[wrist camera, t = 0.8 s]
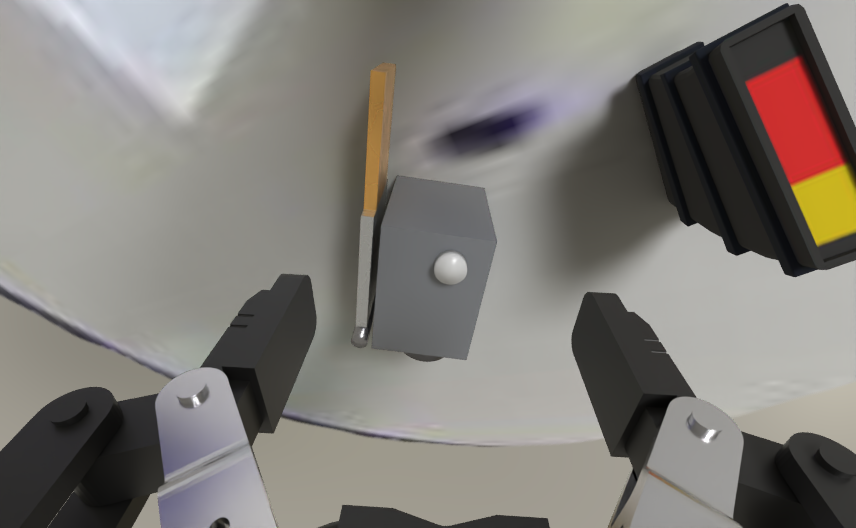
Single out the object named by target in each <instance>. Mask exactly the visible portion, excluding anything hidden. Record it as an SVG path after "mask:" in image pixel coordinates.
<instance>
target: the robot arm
mask: <svg viewBox="0 0 856 528" xmlns="http://www.w3.org/2000/svg"><path fill="white" fill-rule="evenodd" d="M315 330H316V311H315V304H314V298H313V291H312V284H311V279H310V277H309V276H308V275H293V274H281V275H280V276H279V277H278V279H277V281H276V282H275V284H274V285H273V287H272V288H271V290H261V291H260V292H258V293H257V294H256V295H254V296H253V297H251V298H250V299H249V300H247V301H246V303H245V304H244V306H243V307H242V309H241V310H240V311H239V313H238V316H236V317H235V318H234V320H233V321H232V323H231V324H230V327H228V328H227V330H226V331H225V333H224V334H223V336H222V337H221V338H220V340H219V341H218V343H217V344H216V346H215V347H214V348H213V350H212V351H211V353H210V354H209V356H208V357H207V358H206V360H205V361H204V363H203V364H202V366H201V367H200V368H198V369H193V370H190V371H187V372H185V373H183V374H181V375H179V376H177V377H175V378H174V379H172V380H171V381H170V382H169V383H168V384H166V385H165V387H163V388H162V390H161V391H160V393H158V394H154V395H149V396H144V397H139V398H134V399H128V400H123V401H119V402H117V401H116V400H115V398H114V396H113V395H112V393H111V392H110V391H109V390H107V389H105V388H101V387H89V388H83V389H79V390H75V391H72V392H70V393H67V394H65V395H63V396H61V397H59V398H57V399H55V400H53V401H52V402H50V403H49V404H47V405H46V406H45V407H44V408H42V409H41V410H40V411H39V412H38V413H37V414H36V415H35V416H34V417H33V418H32V419H31V420H30V421H29V422H28V423H27V424H26V425H25V426H24V427H23V428H22V429H21V431H20V432H19V433H18V434H17V435H16V436H15V437H14V438H13V439H12V440H11V441H10V442H9V443H8V444H7V445H6V446H5V447H4V448H3V449H2V450H1V451H0V528H47V527H48V528H132V526H133V524H134V523H135V521H136V519H137V517H138V515H139V514H140V512H141V510H142V508H143V507H144V505H145V503H146V501H147V499H148V497H149V496H150V494H152V493H156V492H158V505H159V514H160V522H161V528H279V527H278V523H277V521H276V518H275V515H274V512H273V509H272V506H271V503H270V500H269V497H268V494H267V491H266V488H265V485H264V482H263V479H262V476H261V473H260V470H259V467H258V464H257V461H256V458H255V455H254V452H253V449H252V445H253V443H254V440H255V438H256V436H257V434H258V433H274V431H275V429H276V426H277V424H278V422H279V419H280V417H281V414H282V412H283V410H284V407H285V405H286V402H287V400H288V398H289V395H290V393H291V390H292V388H293V385H294V383H295V381H296V378H297V376H298V373H299V371H300V369H301V366H302V364H303V361H304V359H305V357H306V354H307V352H308V349H309V347H310V345H311V342H312V340H313V337H314V334H315ZM572 351H573V354H574V357H575V360H576V362H577V365H578V368H579V370H580V373H581V376H582V379H583V381H584V384H585V387H586V389H587V392H588V395H589V398H590V400H591V403H592V406H593V408H594V411H595V414H596V417H597V419H598V422H599V425H600V427H601V430H602V433H603V436H604V438H605V441H606V444H607V446H608V449H609V452H610V454H611V456H613V457H629V459H630V462H631V464H632V467H633V468H632V469H631V471H630V473H629V475H628V477H627V480H626V482H625V485H624V487H623V490H622V492H621V495H620V497H619V500H618V502H617V505H616V507H615V510H614V513H613V515H612V517H611V520H610V523H609V525H608V528H856V454H854V453H853V452H852V451H850V450H849V449H847V448H846V447H844V446H842V445H840V444H839V443H837V442H835V441H833V440H831V439H829V438H826V437H823V436H821V435H817V434H813V433H804V432H802V433H796V434H794V435H793V436H791V437H790V439H789V440H788V441H787V442H786V443H785V444H784V445H782V444H779V443H776V442H773V441H770V440H767V439H764V438H760V437H757V436H754V435H751V434H747V433H745V432H742V431H740V429H739V427H738V426H737V424H736V423H735V422H734V421H733V420H732V419H731V418H730V417H729V416H728V415H727V414H726V413H725V412H723V411H722V410H721V409H719V408H718V407H716V406H714V405H713V404H711V403H709V402H706V401H704V400H701V399H698V398H696V396H695V394H694V393H693V391H692V390H691V388H690V387H689V385H688V384H687V382H686V381H685V379H684V377H683V376H682V374H681V373H680V371H679V370H678V368H677V367H676V365H675V364H674V362H673V360H672V359H671V357H670V356H669V354H666V350H665V348H664V347H663V345H662V344H661V342H659V339H658V337H657V336H656V334H655V333H654V331H653V330H652V328H651V327H650V325H649V324H648V323H647V322H645V321H644V320H643V319H642V318H640V317H639V316H638V315H637V314H636V313H634V312H627V310H626V308H625V307H624V305H623V304H622V302H621V300H620V299H619V297H618V296H617V295H616V294H614V293H596V292H587V293H586V294H585V296H584V298H583V301H582V304H581V307H580V310H579V313H578V316H577V320H576V323H575V326H574V329H573V332H572ZM73 491H74V492H73ZM72 492H73V493H72ZM70 495H71V496H70ZM69 496H70V497H69ZM68 498H69V499H68ZM67 499H68V500H67ZM65 502H66V503H65ZM64 503H65V504H64ZM63 505H64V506H63ZM62 506H63V507H62ZM60 509H61V510H60ZM59 510H60V511H59ZM57 513H58V514H57ZM56 514H57V515H56ZM55 516H56V517H55ZM54 517H55V518H54ZM52 520H53V521H52ZM51 521H52V522H51ZM50 523H51V524H50ZM49 524H50V525H49ZM48 525H49V526H48ZM318 528H550V527H549V523H548V519H547V518H534V517H519V516H504V515H495V516H491V517H486V518H482V519H478V520H473V521H469V522H465V523H460V524H457V525H452V526H441V525H437V524H435V523H432V522H429V521H427V520H424V519H421V518H418V517H415V516H413V515H410V514H407V513H405V512H402V511H399V510H396V509H393V508H383V507H367V506H352V505H342V510H341V515H340V519H339V521H337V522H333V523H329V524H327V525H324V526H321V527H318Z"/></svg>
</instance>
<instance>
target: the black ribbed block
mask: <svg viewBox="0 0 856 528" xmlns="http://www.w3.org/2000/svg"><path fill="white" fill-rule="evenodd" d="M636 82H637V85H638V89H639V93H640V96H641V100H642V104H643V107H644V111H645V115H646V119H647V122H648V126H649V130H650V133H651V137H652V141H653V144H654V148H655V152H656V156H657V159H658V163H659V167H660V170H661V174H662V178H663V181H664V185H665V189H666V193H667V196H668V200H669V202H670V203H671V204H673V205H674V206H675V207H677V211H678V214H679V217H680V220H681V221H682V222H683V223H684V224H685V225H687V226H691V225H693V224H696V223H699V224H700V225H702V226H703V227H705V228H706V229H708V230H709V231H711V232H713V233H715V234H717V235H718V236H720V237H722V239H723V241H724V244H725V246H726V249H727V251H728V252H730V253H732V254H734V255H736V256H738V255H740V254H743V253H746V252H749V251H753V252H755V253H758V254H760V255H762V256H764V257H767V258H771V259H776V260H779V262H780V265H781V267H782V269H783V271H784V274H785V275H789V276H792V277H797V276H800V275H803V274H806V273H809V272H812V271H815V270H818V269H819V270H828V269H831V268H834V267H837V266H840V265H843V264H846V263H848V262H851V261H854V260H856V127H855V125H854V122H853V120H852V118H851V115H850V113H849V111H848V108H847V106H846V104H845V102H844V99H843V97H842V95H841V92H840V90H839V88H838V85H837V83H836V81H835V78H834V76H833V74H832V71H831V69H830V67H829V65H828V62H827V60H826V58H825V55H824V53H823V51H822V48H821V46H820V44H819V41H818V39H817V37H816V34H815V32H814V30H813V28H812V25H811V23H810V21H809V18H808V16H807V14H806V11H805V9H804V8H803V7H802V6H801V5H799V4H796V5H791V6H789V4H788V3H786V4H784V5H782V6H780V7H778V8H776V9H774V10H772V11H770V12H768V13H767V14H765V15H763V16H761V17H759V18H757V19H755V20H753V21H751V22H749V23H747V24H746V25H744V26H742V27H740V28H738V29H736V30H734V31H732V32H730V33H728V34H727V35H725V36H723V37H721V38H719V39H717V40H715V41H713V42H711V43H709V44H708V45H706V46H704V43H703V42H696V43H694V44H692V45H690V46H689V47H687V48H685V49H683V50H681V51H678V52H676V53H674V54H672V55H670V56H668V57H666V58H664V59H663V60H661V61H659V62H657V63H655V64H653V65H651V66H649V67H648V68H646V69H644V70H642V71H640V72H639V73H638V74H636Z"/></svg>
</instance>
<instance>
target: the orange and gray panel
mask: <svg viewBox="0 0 856 528" xmlns="http://www.w3.org/2000/svg"><path fill="white" fill-rule="evenodd" d="M395 71H396V64H390V63H382V64H380V65H379V66H377V67H376V68H374V69H372V70H371V75H370V95H369V115H368V134H367V154H366V174H365V194H364V209H363V212H362V214H361V222H360V244H359V265H358V286H357V308H356V326H355V329H354V332H353V336H352V339H351V343H352V344H353V345H354V346H355V347H358V348H362V347H365V346H366V345H367V342H368V338H369V334H370V330H371V326H372V322H373V318H374V311H375V298H376V286H377V273H378V260H379V247H380V235H381V225H382V222H383V219H384V215H385V210H386V198H387V186H388V179H387V169H388V157H389V145H390V132H391V120H392V108H393V95H394V83H395Z"/></svg>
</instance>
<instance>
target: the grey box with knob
mask: <svg viewBox="0 0 856 528" xmlns="http://www.w3.org/2000/svg"><path fill="white" fill-rule="evenodd" d="M496 244H497V239H496V235H495V231H494V227H493V223H492V218H491V214H490V210H489V206H488V201H487V197H486V193H485V189H484V188H481V187H474V186H467V185H460V184H452V183H445V182H438V181H431V180H424V179H417V178H410V177H403V176H397V178H396V181H395V184H394V187H393V190H392V193H391V197H390V200H389V203H388V206H387V209H386V212H385V215H384V219H383V222H382V225H381V235H380V247H379V260H378V273H377V286H376V298H375V311H374V324H373V337H372V348H374V349H382V350H390V351H398V352H404V353H405V354H406V355H408V356H409V357H411V358H413V359H416V360H419V361H426V362H430V361H436V360H439V359H442V358H443V357H446V358H454V359H462V360H466V359H467V356H468V352H469V348H470V344H471V340H472V336H473V332H474V329H475V325H476V321H477V317H478V313H479V309H480V305H481V302H482V298H483V294H484V290H485V286H486V282H487V279H488V275H489V271H490V267H491V263H492V259H493V255H494V252H495V248H496Z"/></svg>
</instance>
